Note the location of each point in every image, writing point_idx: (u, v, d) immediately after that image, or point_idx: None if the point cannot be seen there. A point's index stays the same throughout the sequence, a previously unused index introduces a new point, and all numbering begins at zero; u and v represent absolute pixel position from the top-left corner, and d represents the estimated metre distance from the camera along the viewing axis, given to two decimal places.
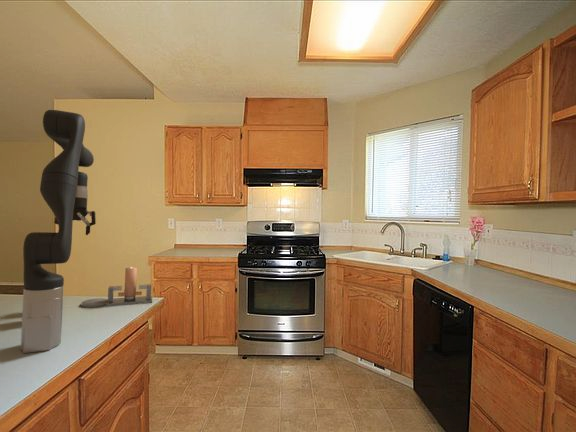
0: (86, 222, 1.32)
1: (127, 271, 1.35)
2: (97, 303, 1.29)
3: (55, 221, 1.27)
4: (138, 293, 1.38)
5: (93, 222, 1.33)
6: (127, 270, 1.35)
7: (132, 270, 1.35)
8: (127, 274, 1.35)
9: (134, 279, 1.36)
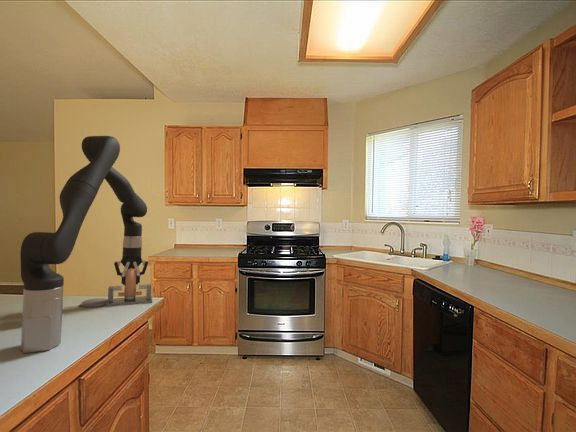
0: (138, 272, 1.37)
1: (127, 271, 1.35)
2: (97, 303, 1.29)
3: (118, 273, 1.34)
4: (138, 293, 1.38)
5: (143, 272, 1.38)
6: (127, 270, 1.35)
7: (132, 270, 1.35)
8: (127, 274, 1.35)
9: (134, 279, 1.36)
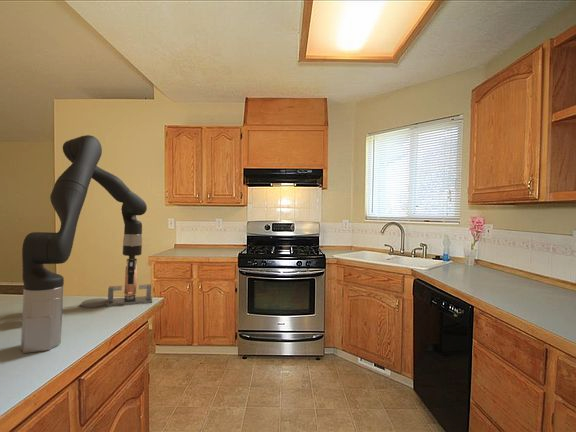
0: None
1: None
2: (97, 303, 1.29)
3: None
4: (128, 293, 1.34)
5: None
6: None
7: None
8: None
9: (126, 277, 1.35)
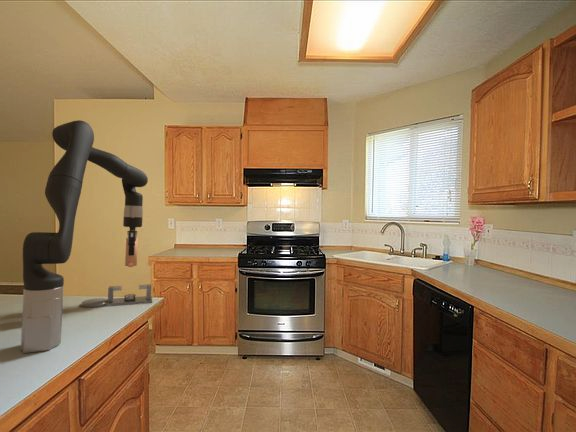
0: None
1: None
2: (97, 303, 1.29)
3: None
4: (128, 264, 1.34)
5: (128, 243, 1.32)
6: None
7: (126, 239, 1.36)
8: None
9: (127, 249, 1.35)
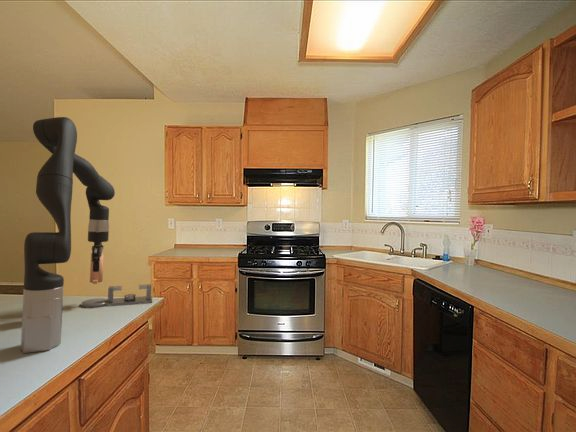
0: None
1: None
2: (97, 303, 1.29)
3: None
4: (92, 281, 1.28)
5: (92, 259, 1.27)
6: None
7: (91, 255, 1.30)
8: None
9: (91, 265, 1.29)
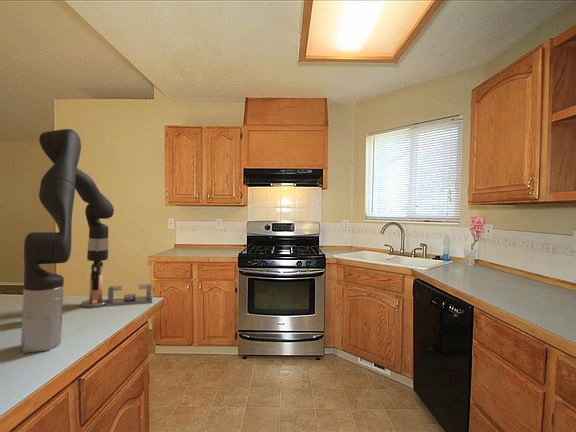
0: (92, 276, 1.28)
1: None
2: (97, 303, 1.29)
3: None
4: (92, 302, 1.28)
5: None
6: None
7: (90, 275, 1.30)
8: None
9: (91, 285, 1.29)
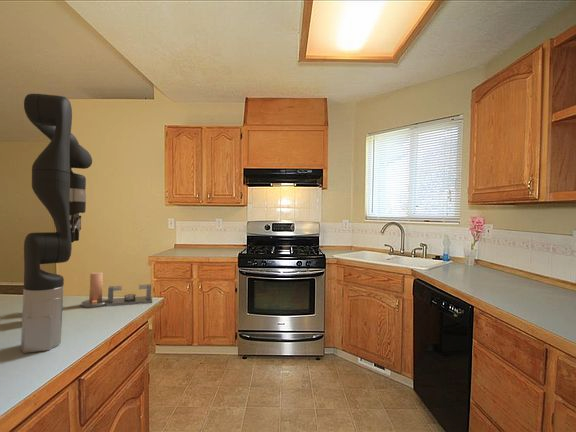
0: None
1: None
2: (97, 303, 1.29)
3: None
4: (92, 302, 1.28)
5: None
6: None
7: (90, 275, 1.30)
8: None
9: (91, 285, 1.29)
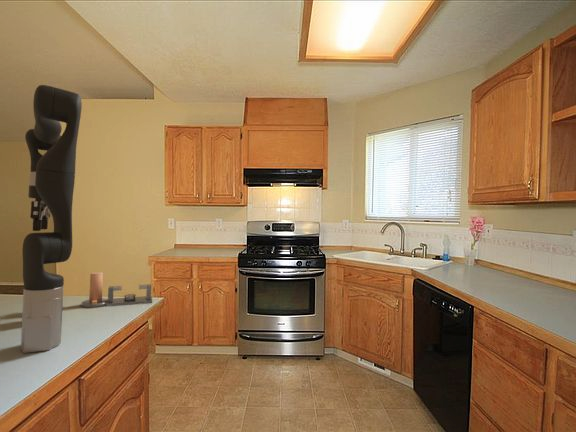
0: (33, 215, 1.08)
1: None
2: (97, 303, 1.29)
3: None
4: (92, 302, 1.28)
5: (31, 215, 1.06)
6: None
7: (90, 275, 1.30)
8: None
9: (91, 285, 1.29)
